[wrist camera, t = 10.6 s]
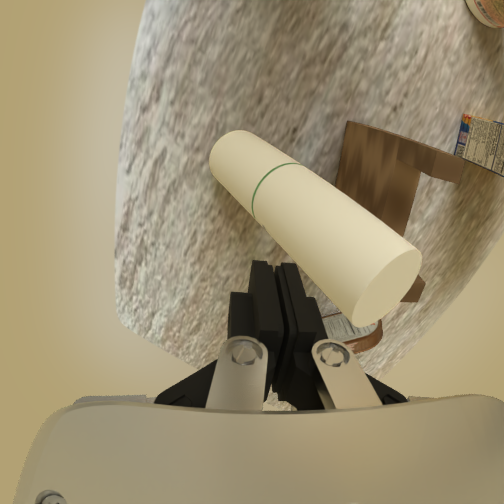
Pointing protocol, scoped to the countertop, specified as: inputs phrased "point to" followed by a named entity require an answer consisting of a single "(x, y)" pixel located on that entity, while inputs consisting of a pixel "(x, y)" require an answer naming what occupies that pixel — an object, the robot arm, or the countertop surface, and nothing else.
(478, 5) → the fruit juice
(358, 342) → the tin
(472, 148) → the beverage box
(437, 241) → the countertop surface
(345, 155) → the U-rest
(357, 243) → the cylindrical container
